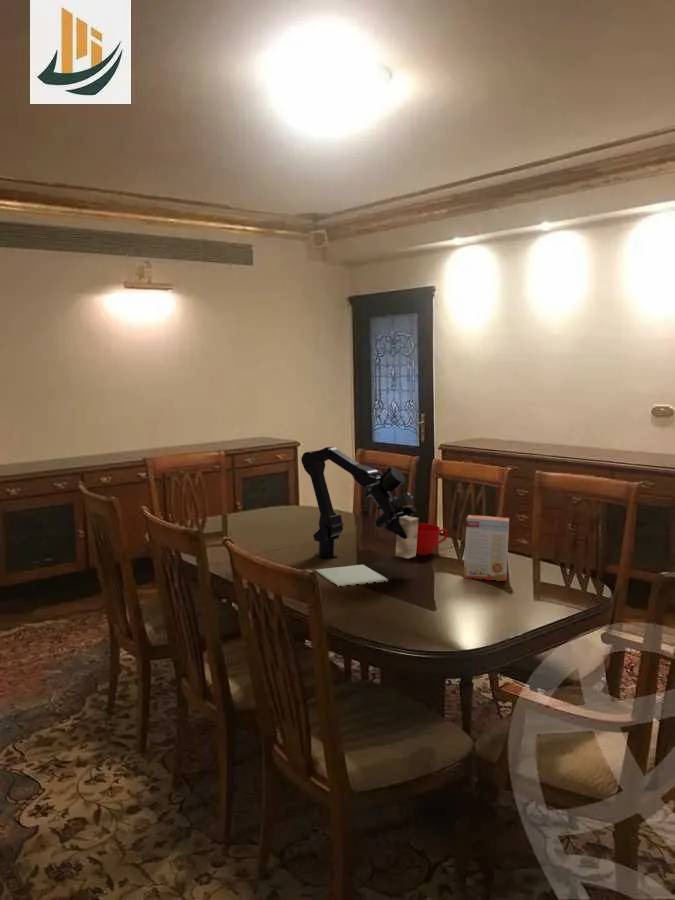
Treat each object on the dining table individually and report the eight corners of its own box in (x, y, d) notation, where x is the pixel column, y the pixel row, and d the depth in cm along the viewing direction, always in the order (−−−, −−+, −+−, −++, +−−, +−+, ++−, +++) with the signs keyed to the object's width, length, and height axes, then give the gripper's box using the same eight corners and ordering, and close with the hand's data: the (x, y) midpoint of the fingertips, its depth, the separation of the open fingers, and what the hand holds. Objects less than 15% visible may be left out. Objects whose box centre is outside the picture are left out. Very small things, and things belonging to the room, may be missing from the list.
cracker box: (506, 577, 247) (510, 517, 244) (505, 582, 241) (509, 521, 238) (464, 573, 251) (468, 513, 248) (463, 578, 245) (466, 517, 242)
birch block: (395, 555, 245) (397, 517, 244) (403, 553, 249) (405, 515, 247) (408, 558, 242) (410, 520, 240) (416, 555, 246) (418, 518, 244)
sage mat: (315, 571, 248) (315, 569, 247) (362, 566, 255) (363, 564, 255) (338, 586, 231) (338, 585, 231) (387, 581, 239) (388, 579, 239)
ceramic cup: (453, 556, 272) (455, 530, 270) (411, 558, 267) (413, 532, 266) (439, 547, 284) (440, 522, 283) (399, 549, 279) (400, 523, 278)
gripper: (383, 489, 237) (411, 527, 232) (413, 482, 252) (439, 518, 247) (363, 509, 243) (389, 547, 238) (393, 501, 258) (418, 537, 253)
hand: (410, 537), depth 244 cm, fingers closed on birch block, 5 cm apart
